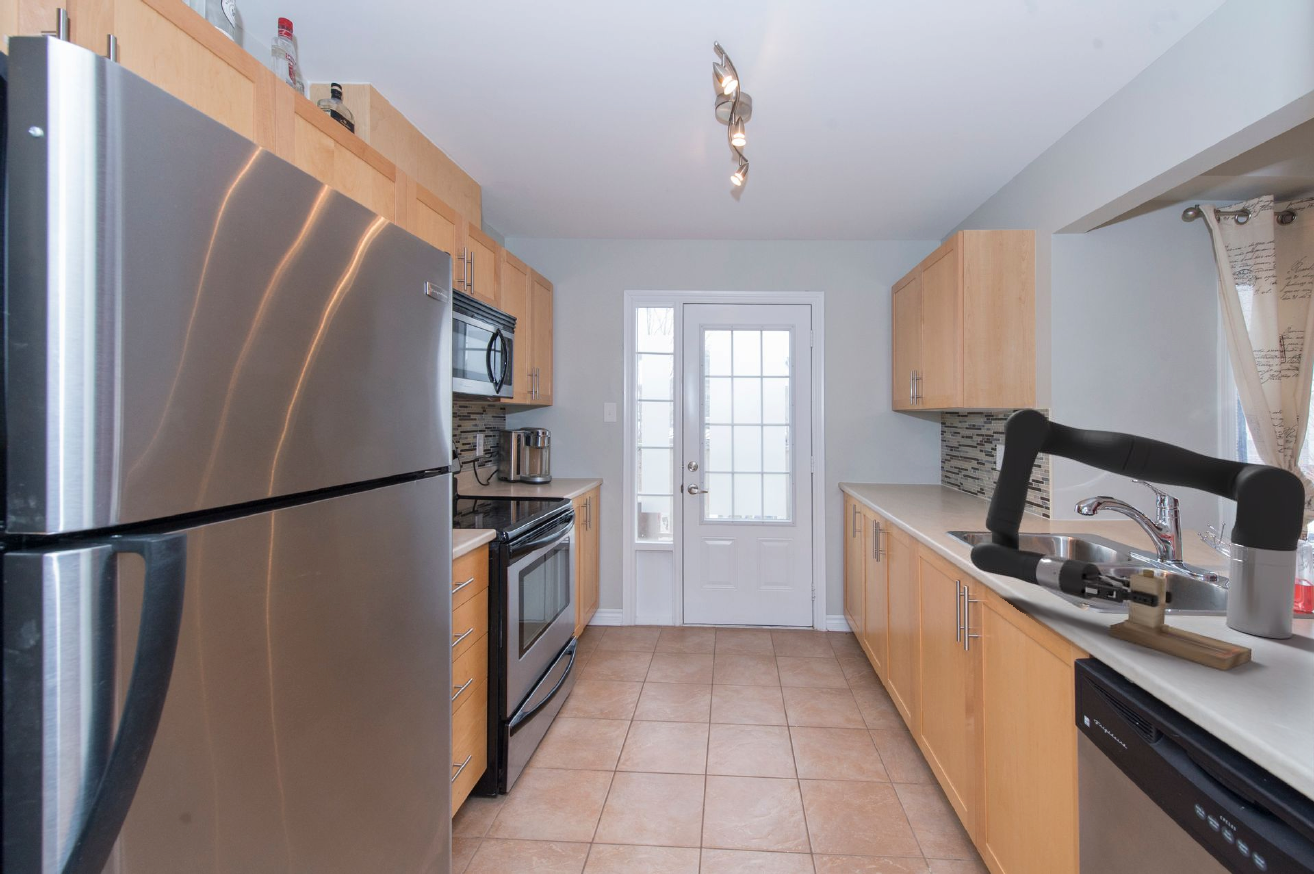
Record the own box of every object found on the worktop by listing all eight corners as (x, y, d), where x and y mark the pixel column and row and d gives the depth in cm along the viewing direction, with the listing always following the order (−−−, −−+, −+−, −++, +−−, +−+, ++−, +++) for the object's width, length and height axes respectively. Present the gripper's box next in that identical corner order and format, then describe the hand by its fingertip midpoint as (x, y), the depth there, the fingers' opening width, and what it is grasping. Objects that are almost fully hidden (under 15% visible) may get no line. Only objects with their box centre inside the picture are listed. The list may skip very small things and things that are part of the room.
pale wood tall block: (1137, 622, 115) (1140, 565, 115) (1171, 632, 111) (1174, 572, 110) (1123, 626, 113) (1126, 568, 113) (1157, 636, 108) (1160, 575, 108)
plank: (1137, 627, 118) (1138, 617, 118) (1251, 659, 103) (1251, 648, 103) (1110, 635, 114) (1110, 625, 114) (1224, 670, 99) (1224, 659, 99)
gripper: (1047, 562, 121) (1145, 584, 106) (1087, 555, 128) (1185, 575, 112) (1046, 598, 122) (1143, 625, 106) (1086, 589, 128) (1183, 614, 113)
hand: (1164, 599), depth 109 cm, fingers open, 4 cm apart
